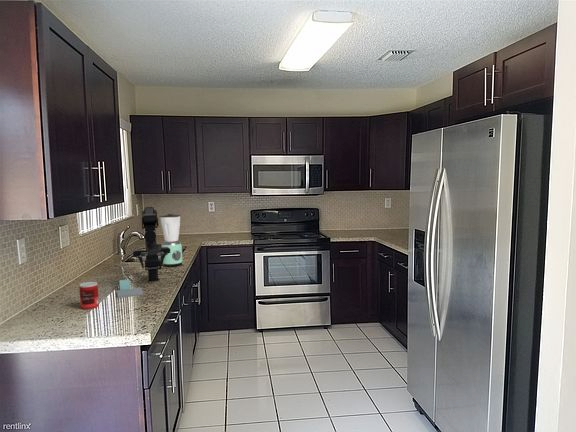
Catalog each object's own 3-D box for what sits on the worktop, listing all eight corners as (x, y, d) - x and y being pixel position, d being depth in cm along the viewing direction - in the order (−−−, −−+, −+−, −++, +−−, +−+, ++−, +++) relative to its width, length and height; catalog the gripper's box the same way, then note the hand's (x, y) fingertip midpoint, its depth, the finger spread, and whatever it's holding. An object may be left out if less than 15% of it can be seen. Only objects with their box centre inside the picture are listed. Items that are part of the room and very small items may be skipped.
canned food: (94, 303, 194) (92, 280, 193) (102, 306, 189) (100, 283, 188) (77, 307, 188) (75, 284, 187) (85, 310, 183) (83, 286, 182)
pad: (117, 292, 213) (117, 290, 213) (141, 289, 218) (141, 287, 217) (117, 298, 202) (117, 296, 202) (143, 294, 207) (143, 292, 207)
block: (119, 289, 219) (119, 280, 219) (129, 288, 221) (129, 279, 221) (120, 291, 215) (119, 282, 214) (130, 290, 217) (129, 281, 216)
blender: (188, 265, 276) (185, 214, 273) (169, 268, 267) (166, 215, 264) (174, 261, 290) (171, 212, 287) (156, 264, 281) (153, 214, 278)
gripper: (133, 242, 203) (135, 272, 205) (171, 238, 212) (173, 268, 213) (131, 239, 213) (133, 268, 215) (167, 236, 222) (169, 264, 223)
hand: (152, 267), depth 216 cm, fingers open, 9 cm apart
